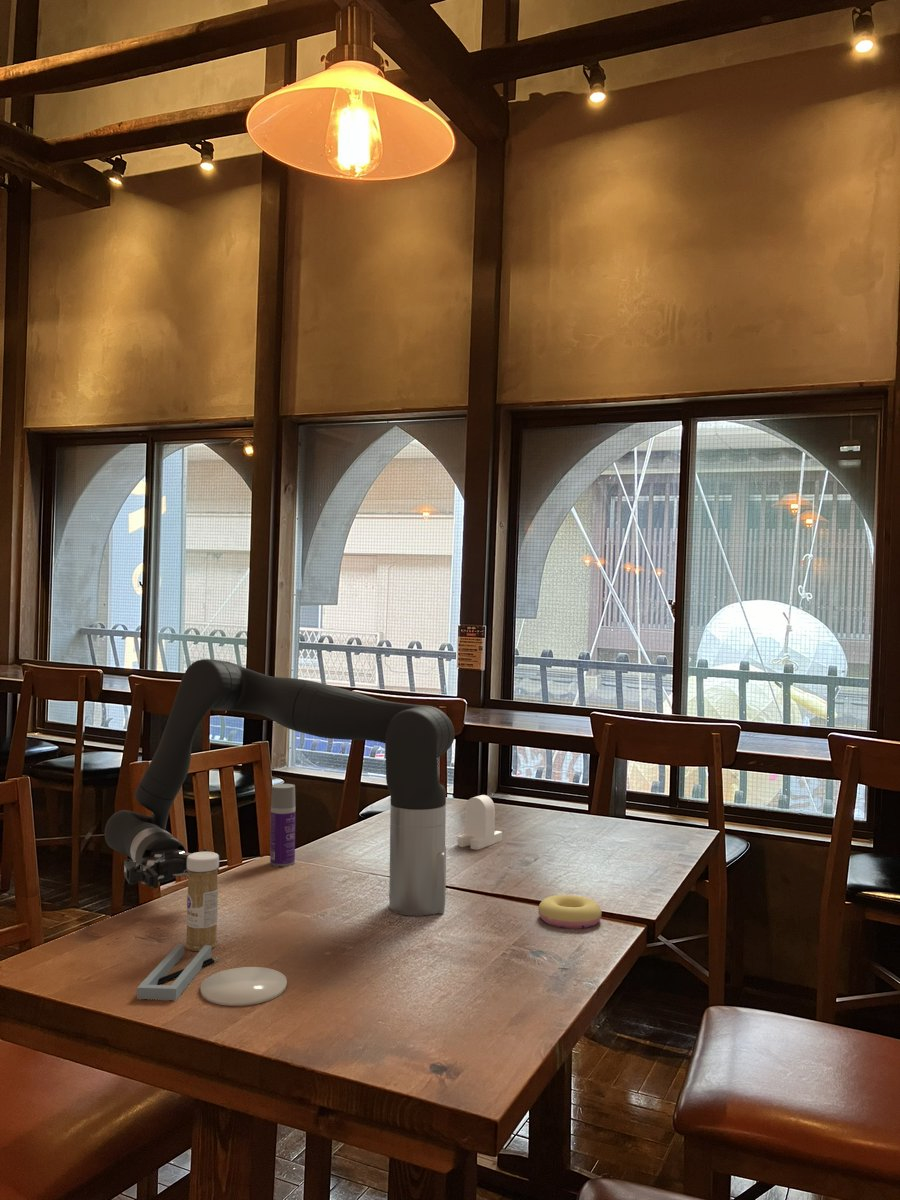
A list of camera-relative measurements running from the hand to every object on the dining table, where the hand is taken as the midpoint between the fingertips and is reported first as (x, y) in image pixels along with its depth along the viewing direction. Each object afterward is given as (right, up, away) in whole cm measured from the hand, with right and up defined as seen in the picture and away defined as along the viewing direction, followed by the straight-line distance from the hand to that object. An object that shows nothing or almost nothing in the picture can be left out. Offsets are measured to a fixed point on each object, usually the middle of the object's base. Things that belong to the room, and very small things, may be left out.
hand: (183, 877), depth 145 cm
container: (+9, -8, +35) cm, 37 cm away
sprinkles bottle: (+5, -8, -9) cm, 13 cm away
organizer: (+48, -9, +53) cm, 72 cm away
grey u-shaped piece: (+5, -7, -19) cm, 21 cm away
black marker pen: (+5, -8, -19) cm, 21 cm away
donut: (+61, -9, +5) cm, 61 cm away
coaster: (+14, -7, -23) cm, 28 cm away
